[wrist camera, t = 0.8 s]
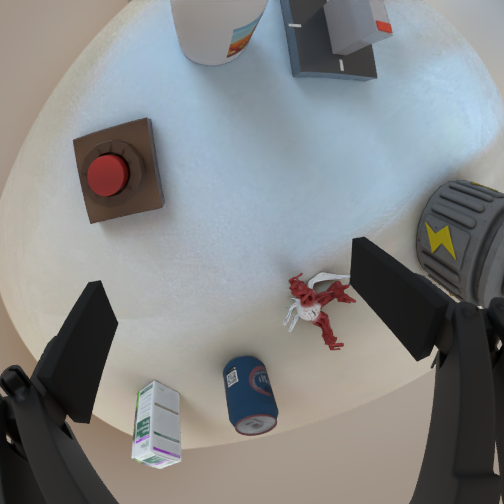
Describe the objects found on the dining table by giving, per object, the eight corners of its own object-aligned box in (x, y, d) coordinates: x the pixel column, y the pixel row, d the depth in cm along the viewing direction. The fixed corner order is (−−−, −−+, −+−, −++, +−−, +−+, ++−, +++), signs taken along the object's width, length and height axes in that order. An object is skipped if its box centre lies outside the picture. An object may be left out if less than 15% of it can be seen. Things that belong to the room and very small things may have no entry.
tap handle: (322, 5, 20) (361, -27, 12) (336, 8, 20) (377, -22, 12) (332, 53, 23) (378, 30, 15) (346, 55, 23) (394, 35, 15)
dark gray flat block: (274, -3, 21) (281, -14, 19) (353, 7, 23) (365, 0, 20) (287, 77, 26) (296, 71, 24) (368, 81, 28) (382, 78, 25)
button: (90, 160, 23) (83, 161, 22) (124, 150, 24) (119, 151, 22) (98, 196, 25) (92, 200, 23) (131, 188, 25) (127, 191, 24)
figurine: (361, 303, 41) (382, 327, 35) (301, 342, 42) (314, 371, 36) (328, 230, 35) (352, 249, 29) (253, 278, 36) (264, 306, 30)
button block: (80, 139, 25) (65, 140, 21) (150, 118, 26) (143, 115, 22) (96, 218, 29) (84, 229, 25) (164, 203, 30) (159, 212, 26)
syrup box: (154, 378, 40) (148, 451, 27) (181, 393, 43) (182, 463, 30) (137, 391, 41) (129, 459, 28) (163, 405, 44) (161, 470, 30)
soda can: (272, 364, 43) (291, 421, 32) (242, 385, 44) (253, 441, 33) (244, 345, 40) (259, 408, 29) (213, 368, 41) (220, 429, 30)
